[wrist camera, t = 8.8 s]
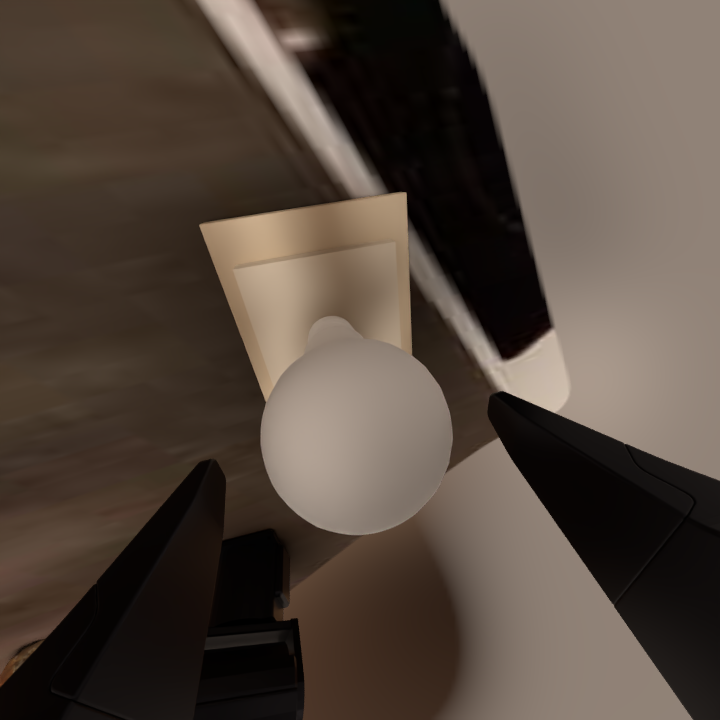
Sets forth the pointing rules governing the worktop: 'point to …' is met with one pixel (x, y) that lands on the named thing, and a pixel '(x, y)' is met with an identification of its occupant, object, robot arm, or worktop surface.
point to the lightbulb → (355, 432)
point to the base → (314, 275)
